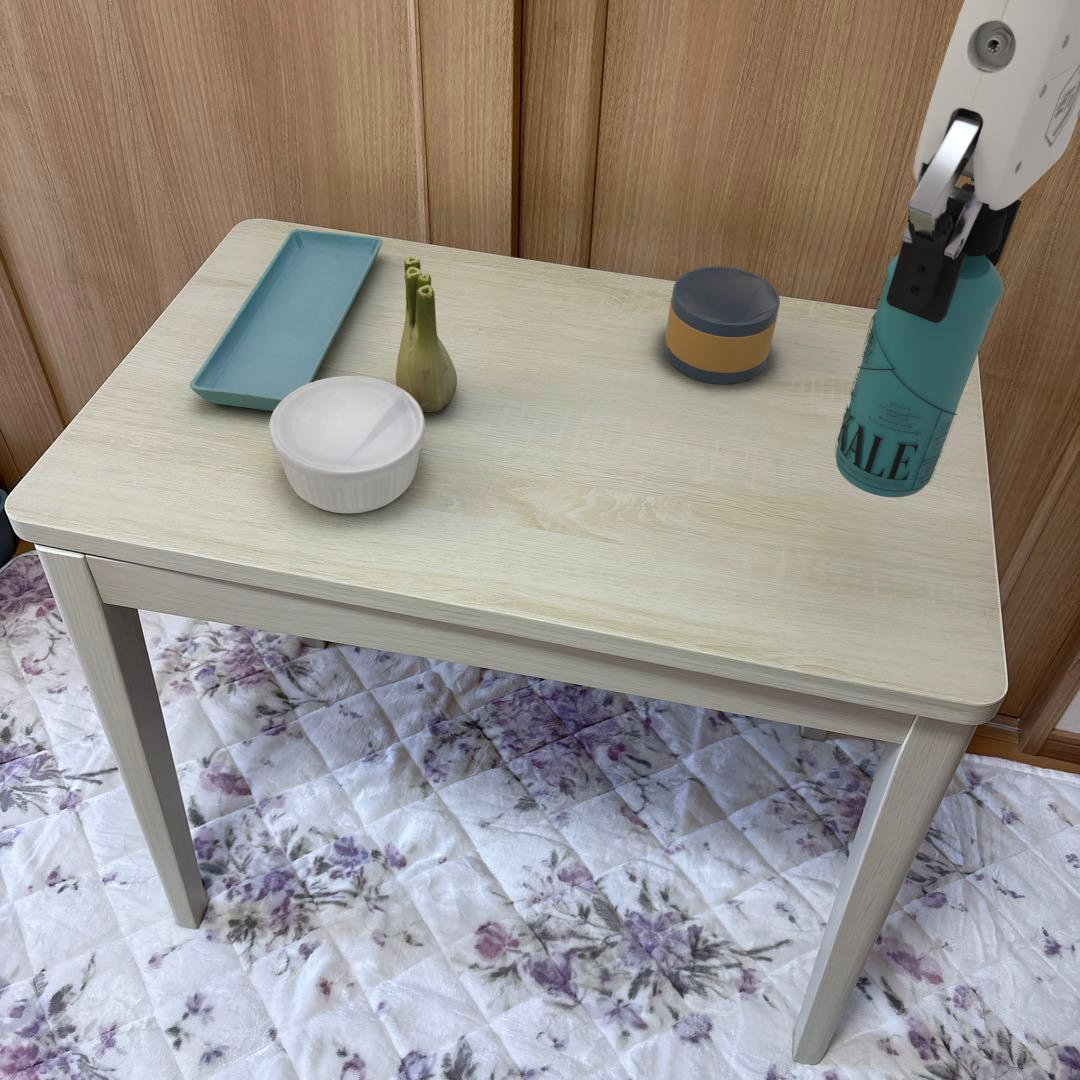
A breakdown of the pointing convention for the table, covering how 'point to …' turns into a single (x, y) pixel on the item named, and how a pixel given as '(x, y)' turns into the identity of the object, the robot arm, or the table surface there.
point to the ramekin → (348, 442)
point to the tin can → (721, 324)
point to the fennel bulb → (423, 345)
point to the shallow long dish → (287, 320)
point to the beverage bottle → (918, 373)
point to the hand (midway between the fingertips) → (943, 281)
